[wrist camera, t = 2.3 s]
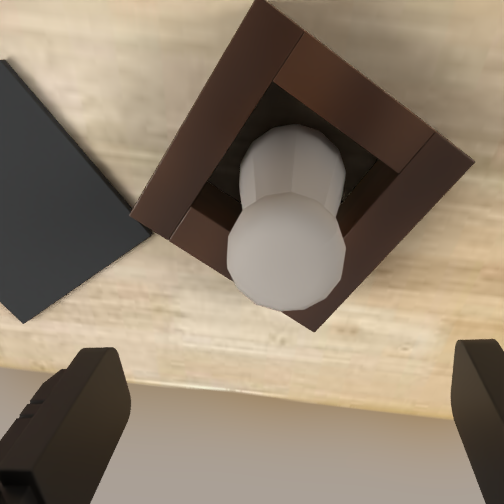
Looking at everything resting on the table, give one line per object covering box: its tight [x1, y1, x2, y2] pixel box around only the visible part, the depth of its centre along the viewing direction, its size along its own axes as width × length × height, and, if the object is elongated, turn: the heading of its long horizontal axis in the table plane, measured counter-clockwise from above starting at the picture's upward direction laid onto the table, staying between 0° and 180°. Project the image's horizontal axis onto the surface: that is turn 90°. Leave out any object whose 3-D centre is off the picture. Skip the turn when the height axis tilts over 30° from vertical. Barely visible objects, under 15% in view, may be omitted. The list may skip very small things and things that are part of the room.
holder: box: [129, 0, 475, 332], centre depth 25 cm, size 12×12×4 cm
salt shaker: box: [227, 124, 346, 311], centre depth 21 cm, size 6×6×13 cm
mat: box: [0, 60, 152, 324], centre depth 30 cm, size 13×13×1 cm
